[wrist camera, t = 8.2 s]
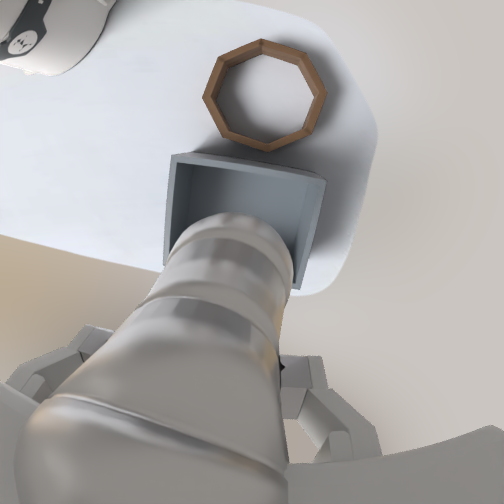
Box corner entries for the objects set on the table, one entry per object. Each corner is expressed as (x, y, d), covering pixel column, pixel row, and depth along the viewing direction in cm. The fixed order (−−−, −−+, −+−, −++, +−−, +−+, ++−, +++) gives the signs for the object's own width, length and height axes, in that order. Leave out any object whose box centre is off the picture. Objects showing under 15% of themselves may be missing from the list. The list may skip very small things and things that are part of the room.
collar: (195, 77, 27) (188, 71, 24) (289, 37, 24) (291, 28, 21) (239, 164, 30) (237, 166, 27) (334, 124, 28) (341, 122, 25)
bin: (181, 241, 34) (162, 265, 28) (191, 151, 30) (171, 155, 23) (294, 261, 34) (299, 289, 28) (314, 172, 30) (327, 180, 24)
